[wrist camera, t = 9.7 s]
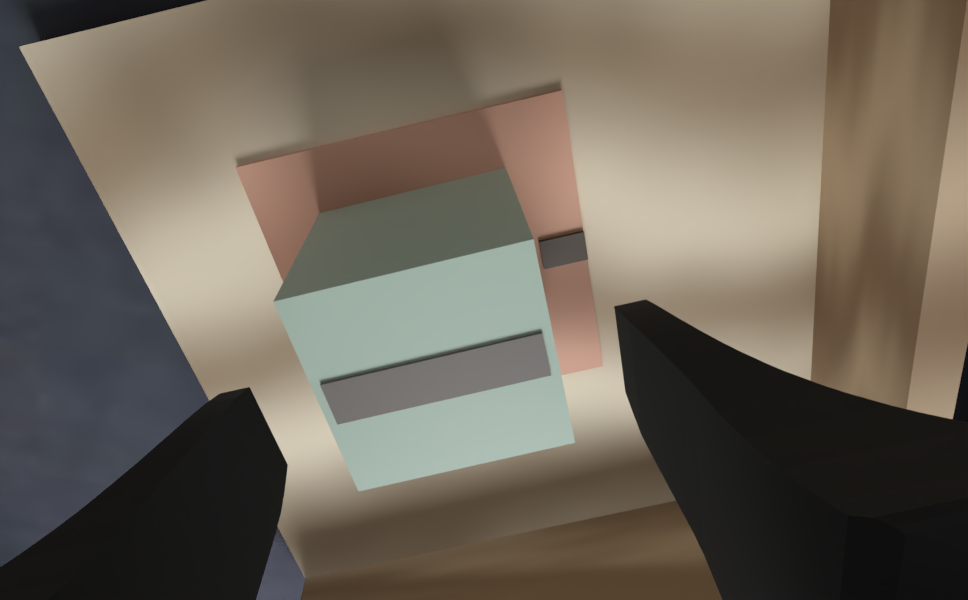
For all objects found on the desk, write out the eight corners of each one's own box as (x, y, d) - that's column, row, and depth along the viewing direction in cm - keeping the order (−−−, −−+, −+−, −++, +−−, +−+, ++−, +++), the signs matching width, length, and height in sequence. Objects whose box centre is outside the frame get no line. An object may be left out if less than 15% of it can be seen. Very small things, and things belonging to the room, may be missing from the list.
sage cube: (505, 167, 15) (534, 240, 11) (540, 329, 17) (575, 444, 13) (319, 213, 15) (271, 303, 11) (377, 367, 17) (357, 493, 13)
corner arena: (825, 474, 22) (919, 591, 18) (320, 580, 23) (293, 718, 18) (871, -162, 13) (1081, -234, 9) (40, 43, 14) (-137, 68, 10)
